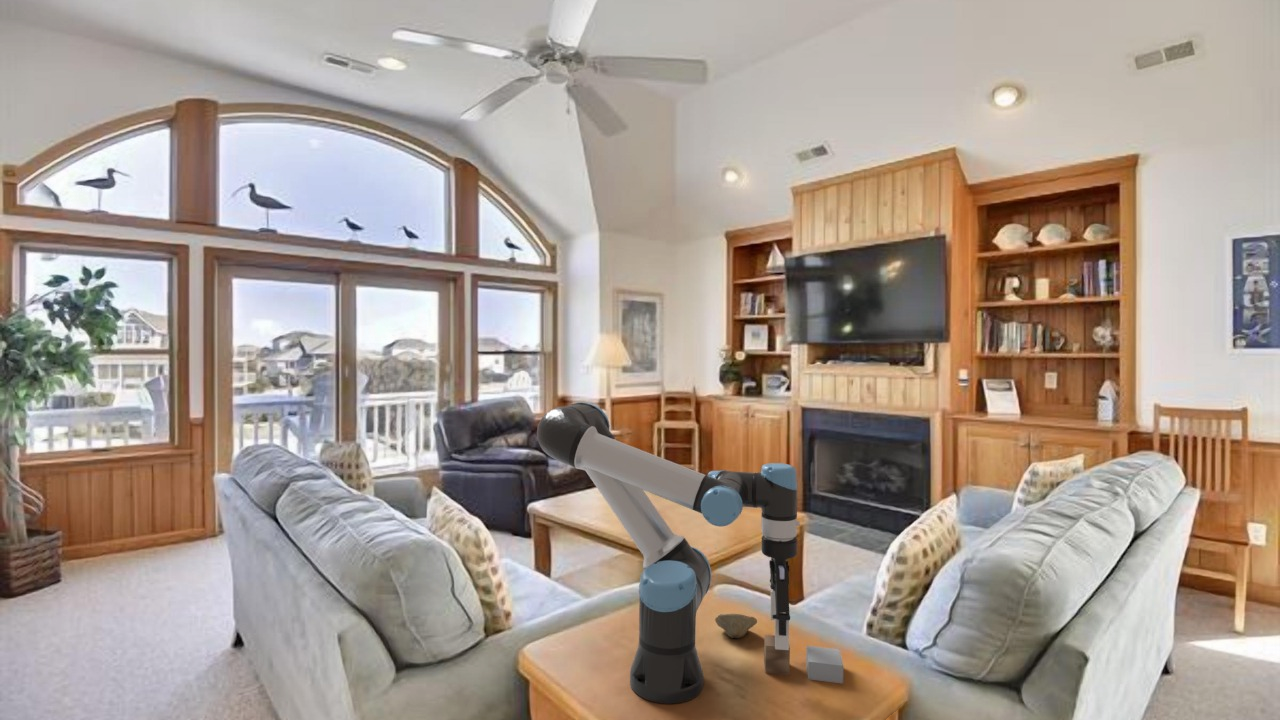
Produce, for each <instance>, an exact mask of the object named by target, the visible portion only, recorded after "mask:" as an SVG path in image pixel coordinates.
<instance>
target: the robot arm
mask: <svg viewBox="0 0 1280 720" xmlns="http://www.w3.org/2000/svg"><path fill="white" fill-rule="evenodd" d="M536 430H537V431H536V437H537V442H538V445H539V446H540V448H541V450H542V451H543V452H544V453H545V455H547V456H549V457H550V458H552V459H553V460H554V459H555V460H556V461H558V462H560V463H563V464H565V465H567V466H570V467H573V468H575V469H578V470H583V471H584V472H586V474H587V475H588V477H589V479H590V480H591V481H592V482H593V484H594V486H595V487H596V489H597V490H598V491H599V493H600V494H601V496H602V497H603V499H604V500H605V501H606V503H607V504H608V506H609V507H610V509H611V510H612V512H613V513H614V514H615V516H616V518H617V519H618V520H619V522H620V523H621V525H622V526H623V528H624V529H625V531H626V532H627V534H628V535H629V537H630V538H631V539H632V541H633V543H634V544H635V546H636V547H637V549H638V550H639V551H640V553H641V555H643V561H642V563H643V564H642V568H643V571H642V572H641V575H640V580H639V585H638V595H639V604H638V605H639V612H638V615H639V617H638V620H639V622H638V629H639V630H638V632H639V633H638V635H639V636H638V637H639V638H638V646H637V650H636V652H635V654H634V659H633V660H632V664H631V666H630V671H629V684H630V688H631V690H632V691H633V692H634V693H635V694H637V695H638V696H639V697H641V698H642V699H644V700H647V701H650V702H653V703H658V704H680V703H684V702H687V701H691V700H692V699H695V698H696V697H697V696H698V695H699V694H700V693H701V692H702V691H703V687H704V671H703V668H702V665H701V661H700V657H699V654H698V651H697V648H696V630H697V629H696V628H697V627H696V624H697V623H696V620H697V619H696V618H697V617H696V616H697V611H698V609H699V608H700V605H701V604H702V602H703V599H704V597H705V596H706V595H707V594H708V591H709V589H710V586H711V580H712V569H711V565H710V562H709V560H708V558H707V556H706V555H705V554H704V552H702V551H701V550H700V549H698V548H697V547H693V546H691V545H690V543H689V542H688V540H687V539H686V538H685V536H684V535H678V534H675V533H674V532H673V530H672V529H671V528H670V526H669V525H668V524H667V522H666V521H665V519H664V518H663V516H662V514H660V512H659V511H658V509H657V507H656V506H655V505H654V504H653V502H652V500H650V498H649V496H648V494H647V493H646V492H648V493H650V494H652V495H655V496H657V497H660V498H662V499H665V500H667V501H670V502H672V503H675V504H677V505H680V506H682V507H684V508H687V509H689V510H692V511H695V512H697V513H700V514H701V515H702V517H703V518H704V519H705V521H707V522H708V523H709V524H711V525H712V526H715V527H726V526H729V525H731V524H733V522H735V521H736V520H737V519H738V518H739V516H740V515H741V513H742V511H743V508H755V509H757V508H759V509H761V516H760V517H761V525H760V526H761V529H760V530H761V531H760V532H761V534H762V536H761V552H762V554H763V555H764V556H765V557H768V558H770V560H769V571H770V572H769V574H770V578H769V583H770V586H769V587H770V589H771V590H770V620H771V621H774V636H775V649H778V650H789V646H790V620H791V614H790V596H789V595H790V594H789V586H790V585H789V584H790V577H789V576H790V575H789V574H790V565H789V561H787V560H788V559H793V558H795V557H796V556H798V555H797V554H798V539H797V538H796V537H797V535H798V527H799V526H800V524H801V523H800V521H798V479H797V478H798V475H797V470H796V468H795V467H794V466H792V465H791V464H787V463H781V462H780V463H779V462H773V463H765V464H763V465H761V471H760V472H745V471H734V470H733V471H732V470H731V471H730V470H726V469H722V470H711V471H709V472H708V473H707V475H706V474H704V473H701V472H699V471H696V470H695V469H691V468H688V467H686V466H683V465H681V464H679V463H676V462H674V461H671V460H668V459H666V458H662V457H661V456H657V455H655V454H653V453H650V452H648V451H645V450H642V449H640V448H637V447H635V446H632V445H629V444H627V443H624V442H622V441H620V440H617V439H616V438H615V436H614V435H613V433H612V432H611V430H610V420H609V418H608V416H607V414H606V413H605V412H604V410H603V409H602V408H600V407H599V406H597V405H595V404H593V403H588V402H575V403H572V404H569V405H565V406H558V407H554V408H552V409H550V410H549V411H547V412H546V413H545V414H543V416H541V418H540V420H539V423H538V425H537V429H536Z"/></svg>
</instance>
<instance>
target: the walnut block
mask: <svg viewBox="0 0 1280 720" xmlns="http://www.w3.org/2000/svg"><path fill="white" fill-rule="evenodd" d="M763 641H764V646H763V647H764V649H763V651H764V653H763V664H764V672H765V673H764V674H769V675H781V676H790V664H791V663H790V659H791V646H790V645H789V650H778V649H775V634H774V635H771V634H764V640H763Z"/></svg>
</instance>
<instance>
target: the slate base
mask: <svg viewBox="0 0 1280 720" xmlns="http://www.w3.org/2000/svg"><path fill="white" fill-rule="evenodd" d="M805 649H806V653H805V657H806V658H805V665H806V671H807V679H808V680H811V681H812V680H813V681H821V682H827V683H836V684H844V663H843V658H842V654H841V650H840V648H832V647H822V646H814V645H806V648H805Z"/></svg>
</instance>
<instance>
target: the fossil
mask: <svg viewBox="0 0 1280 720" xmlns="http://www.w3.org/2000/svg"><path fill="white" fill-rule="evenodd" d="M714 621H715V623H716V624H717V626H718V627H720V629H723V630H724V632H725V634H726V635H727V636H728V637H729V638H731V639H740V638H742V637H744V636H745V635H746V634H747V633H748V632H749V630H750V629H751V628H753V627H754V626H756V625H757V623H758V620H757V618H755V616H750V615H749V616H748V615H745V614H741V613H740V614H739V613H723V614H722V613H721V614H719V615H717V616H716V618H715V619H714Z"/></svg>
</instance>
